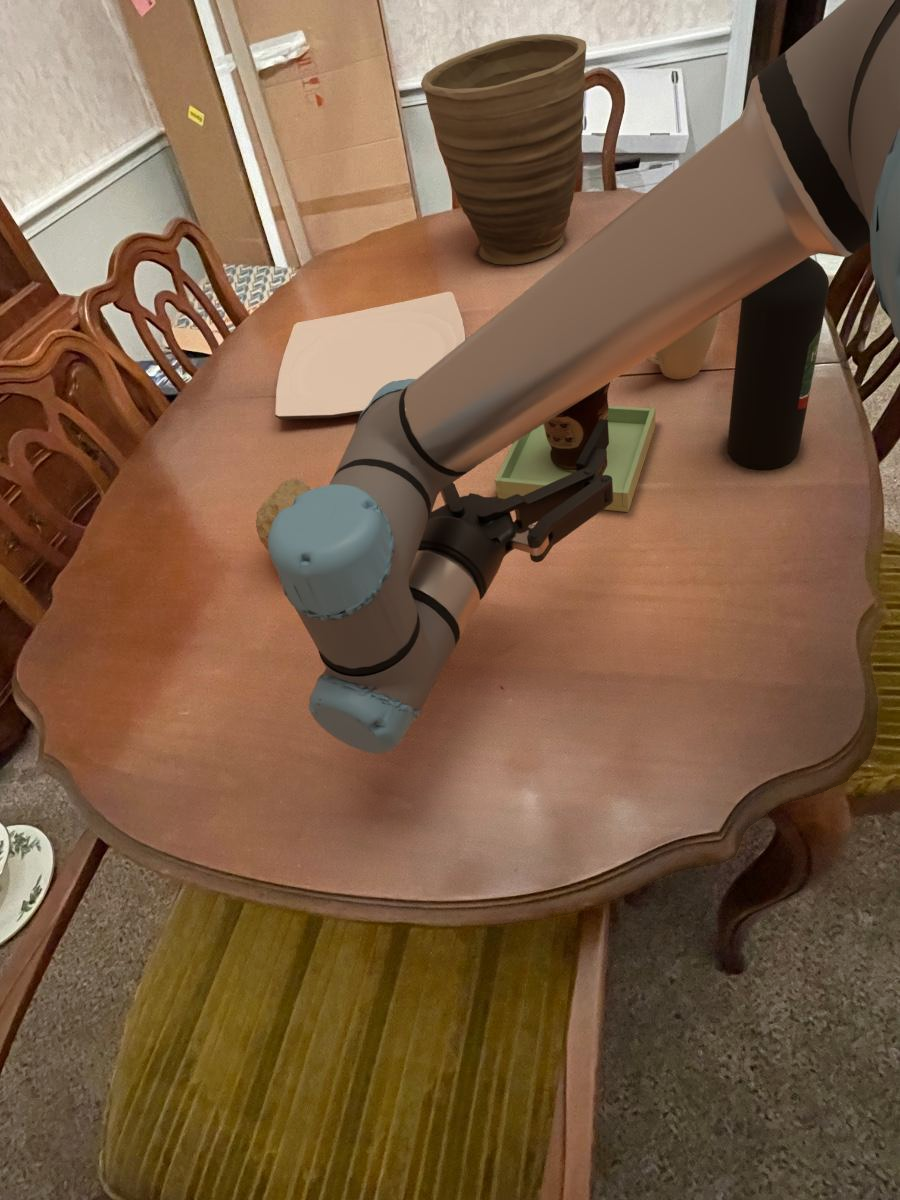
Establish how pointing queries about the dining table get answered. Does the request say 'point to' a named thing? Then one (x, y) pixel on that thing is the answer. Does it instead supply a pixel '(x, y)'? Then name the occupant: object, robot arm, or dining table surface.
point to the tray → (535, 469)
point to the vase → (512, 139)
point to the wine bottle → (776, 366)
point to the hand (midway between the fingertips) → (537, 422)
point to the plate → (363, 355)
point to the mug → (687, 352)
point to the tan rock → (277, 506)
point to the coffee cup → (575, 428)
